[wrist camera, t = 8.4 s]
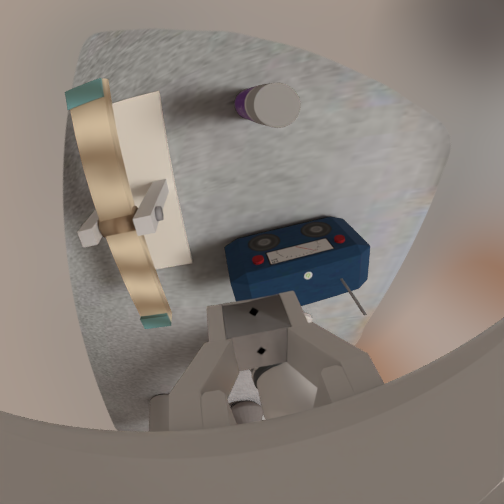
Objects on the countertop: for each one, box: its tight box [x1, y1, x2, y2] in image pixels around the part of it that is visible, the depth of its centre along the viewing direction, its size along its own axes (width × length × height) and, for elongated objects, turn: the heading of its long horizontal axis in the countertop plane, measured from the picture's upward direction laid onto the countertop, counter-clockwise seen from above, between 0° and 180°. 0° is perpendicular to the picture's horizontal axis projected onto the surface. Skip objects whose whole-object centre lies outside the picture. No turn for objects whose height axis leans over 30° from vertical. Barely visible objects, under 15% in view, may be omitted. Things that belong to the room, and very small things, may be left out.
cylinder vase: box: [149, 394, 169, 432], centre depth 60 cm, size 12×12×25 cm
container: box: [235, 83, 301, 128], centre depth 28 cm, size 5×5×15 cm
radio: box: [225, 217, 370, 315], centre depth 39 cm, size 21×9×20 cm, turn 100°
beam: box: [65, 78, 172, 329], centre depth 28 cm, size 32×4×3 cm, turn 5°
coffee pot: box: [231, 401, 263, 425], centre depth 69 cm, size 21×12×15 cm, turn 174°
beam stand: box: [77, 91, 192, 269], centre depth 32 cm, size 28×11×15 cm, turn 5°
